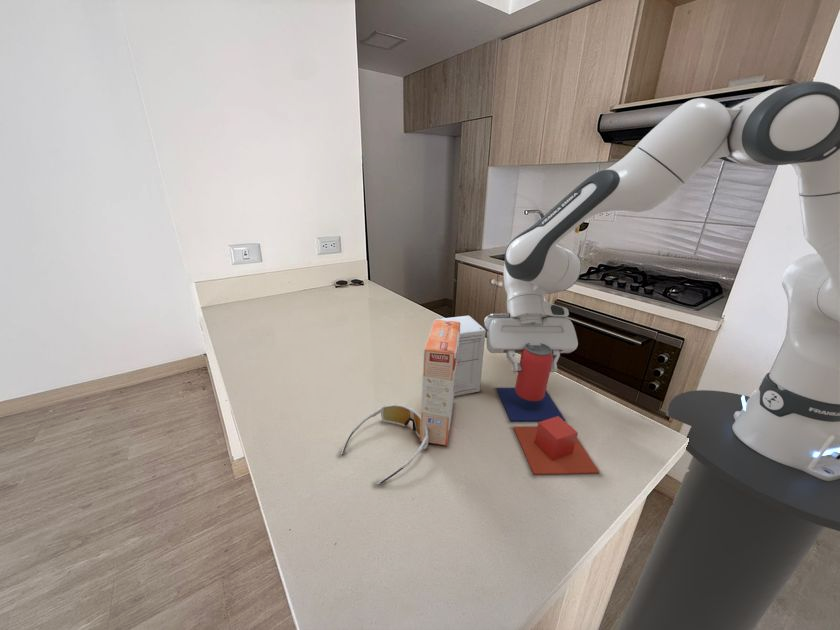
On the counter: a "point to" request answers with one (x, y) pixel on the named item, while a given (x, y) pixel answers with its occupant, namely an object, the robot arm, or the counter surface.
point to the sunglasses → (402, 417)
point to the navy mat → (527, 407)
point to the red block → (555, 437)
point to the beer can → (534, 372)
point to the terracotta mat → (563, 465)
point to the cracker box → (439, 380)
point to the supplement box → (469, 355)
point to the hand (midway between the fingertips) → (535, 371)
